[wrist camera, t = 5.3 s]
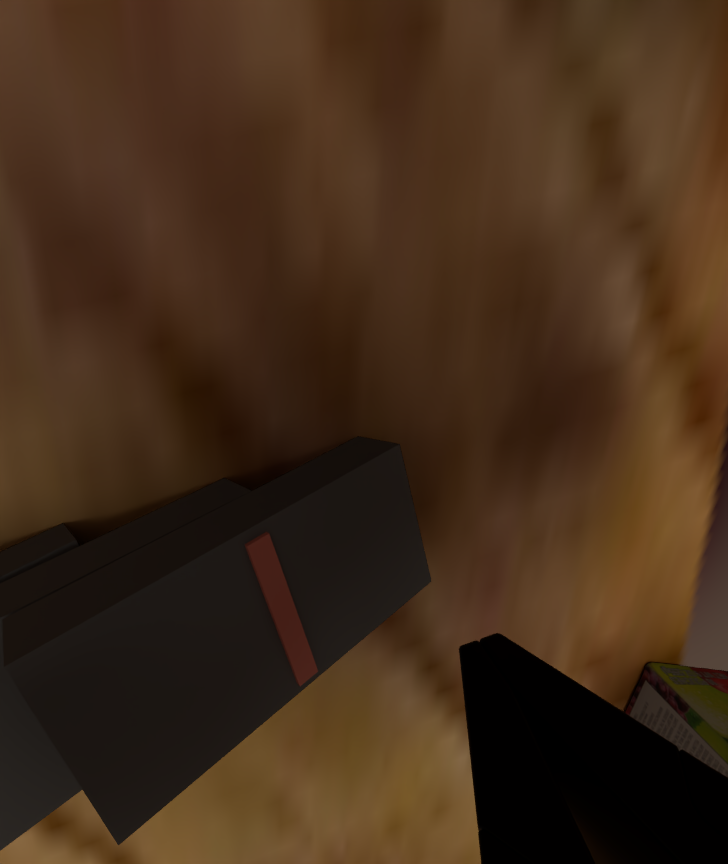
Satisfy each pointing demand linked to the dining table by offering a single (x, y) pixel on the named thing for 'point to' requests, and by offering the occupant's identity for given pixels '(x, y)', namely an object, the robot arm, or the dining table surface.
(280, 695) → the domino
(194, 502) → the domino
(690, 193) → the dining table surface
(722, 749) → the snack box
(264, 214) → the dining table surface
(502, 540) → the dining table surface
